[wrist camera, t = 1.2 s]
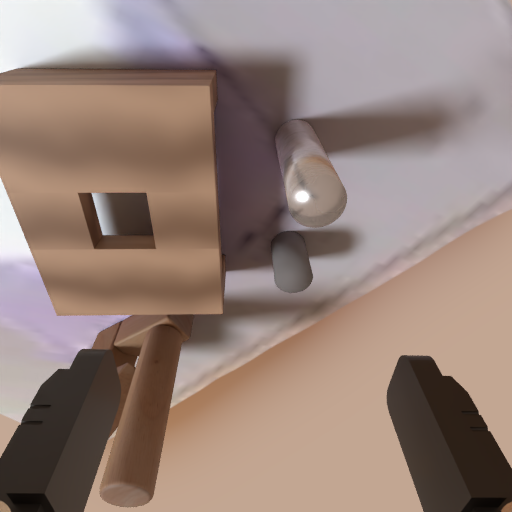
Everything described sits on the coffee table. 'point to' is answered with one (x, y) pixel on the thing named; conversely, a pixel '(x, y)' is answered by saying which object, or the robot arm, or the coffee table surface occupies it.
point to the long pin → (308, 176)
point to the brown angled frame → (141, 401)
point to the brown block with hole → (116, 185)
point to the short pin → (291, 262)
